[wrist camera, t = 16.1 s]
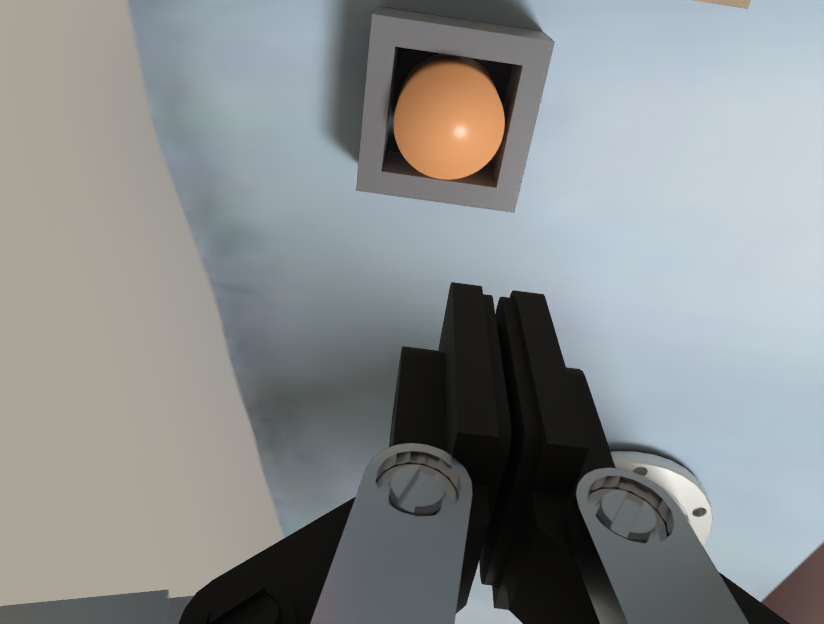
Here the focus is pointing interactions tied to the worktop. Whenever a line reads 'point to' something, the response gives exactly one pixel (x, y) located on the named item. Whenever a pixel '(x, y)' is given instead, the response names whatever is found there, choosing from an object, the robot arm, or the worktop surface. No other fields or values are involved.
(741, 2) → the picture board
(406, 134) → the button
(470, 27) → the button housing
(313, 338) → the worktop surface
